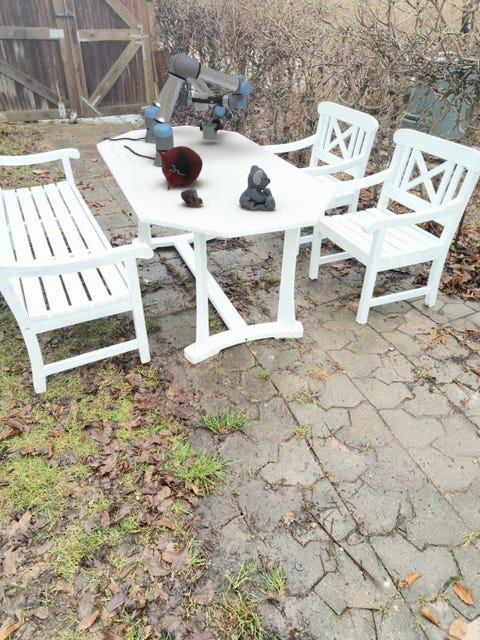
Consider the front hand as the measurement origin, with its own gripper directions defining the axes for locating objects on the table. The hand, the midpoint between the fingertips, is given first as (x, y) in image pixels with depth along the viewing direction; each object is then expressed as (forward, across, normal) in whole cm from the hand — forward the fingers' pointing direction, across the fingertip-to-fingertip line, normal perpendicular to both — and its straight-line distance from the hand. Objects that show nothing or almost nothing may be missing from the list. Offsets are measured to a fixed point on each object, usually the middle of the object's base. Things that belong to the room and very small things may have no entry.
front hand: (196, 98), depth 314 cm
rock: (-57, -108, -33) cm, 126 cm away
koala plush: (-89, -95, -32) cm, 134 cm away
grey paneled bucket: (-4, 0, -7) cm, 8 cm away
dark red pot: (-35, -79, -33) cm, 92 cm away
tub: (-4, +11, -27) cm, 30 cm away
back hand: (-5, +7, -21) cm, 23 cm away
